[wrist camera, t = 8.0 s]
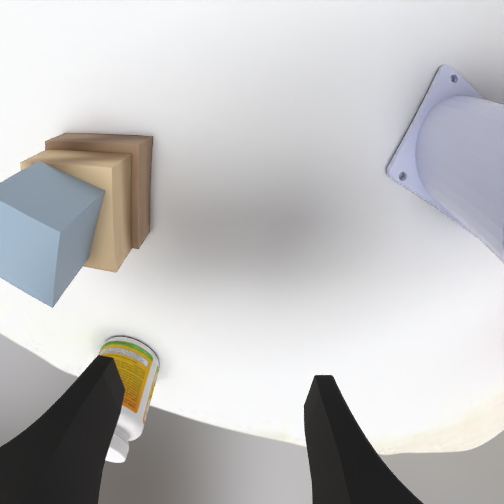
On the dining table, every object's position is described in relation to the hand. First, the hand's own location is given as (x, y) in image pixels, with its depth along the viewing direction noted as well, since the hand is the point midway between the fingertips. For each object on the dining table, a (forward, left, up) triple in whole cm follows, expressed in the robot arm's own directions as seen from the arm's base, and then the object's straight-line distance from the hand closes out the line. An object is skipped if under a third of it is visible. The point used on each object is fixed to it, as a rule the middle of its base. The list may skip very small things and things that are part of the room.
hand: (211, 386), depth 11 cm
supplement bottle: (+4, +14, -11) cm, 18 cm away
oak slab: (+9, -1, -8) cm, 12 cm away
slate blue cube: (+9, -1, -6) cm, 11 cm away
